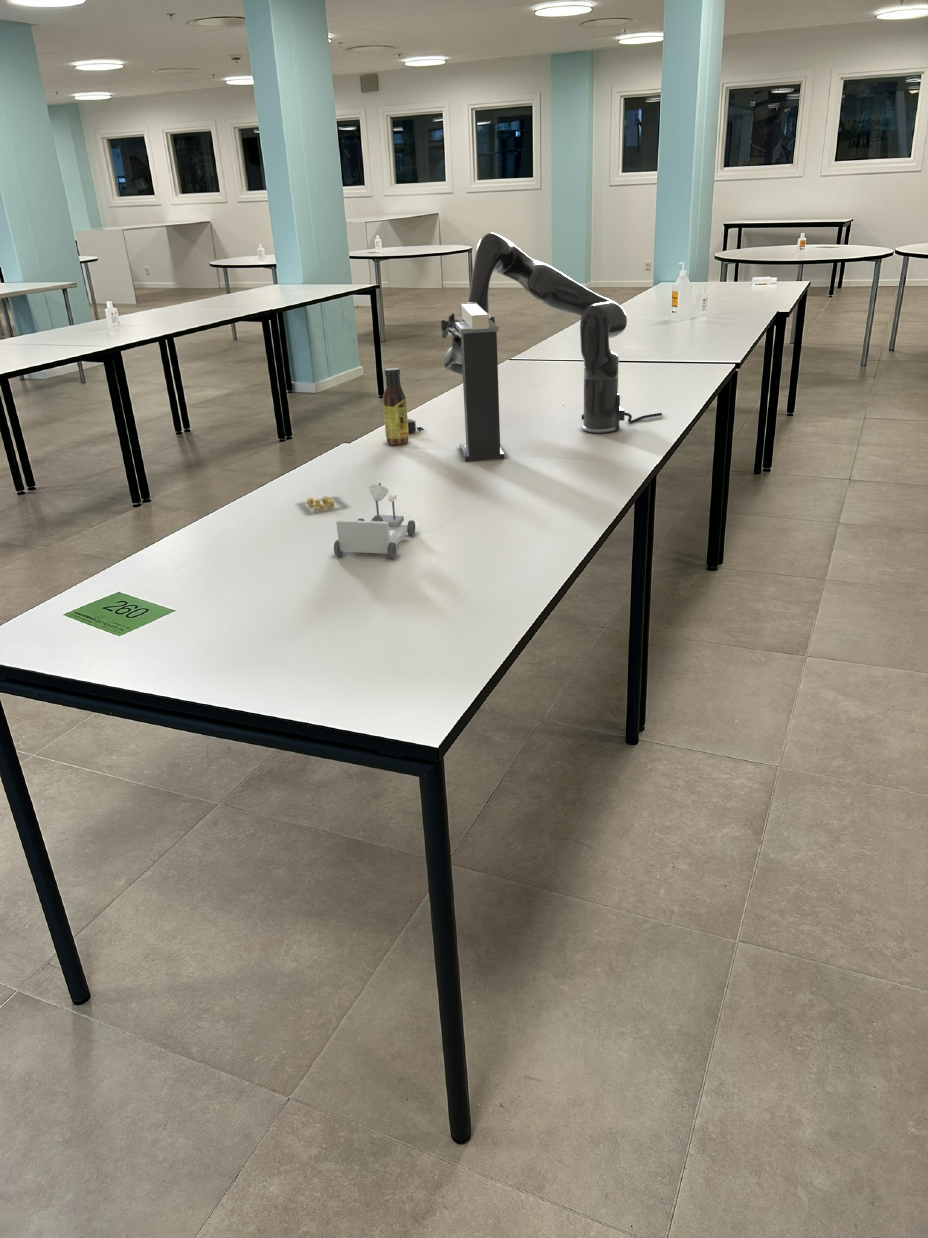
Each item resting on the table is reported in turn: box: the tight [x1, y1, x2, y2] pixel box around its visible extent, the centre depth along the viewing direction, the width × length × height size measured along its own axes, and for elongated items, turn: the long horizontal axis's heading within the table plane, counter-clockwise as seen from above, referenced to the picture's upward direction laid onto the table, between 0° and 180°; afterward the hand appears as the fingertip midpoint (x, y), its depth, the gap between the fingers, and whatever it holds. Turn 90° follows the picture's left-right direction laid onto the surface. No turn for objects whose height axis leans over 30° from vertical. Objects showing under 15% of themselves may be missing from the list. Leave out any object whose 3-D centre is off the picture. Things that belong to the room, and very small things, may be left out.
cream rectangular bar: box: [459, 302, 489, 330], centre depth 221 cm, size 4×24×3 cm, turn 6°
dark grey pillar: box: [456, 320, 506, 462], centre depth 225 cm, size 10×13×32 cm
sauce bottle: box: [382, 367, 410, 446], centre depth 242 cm, size 6×6×20 cm
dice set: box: [306, 495, 335, 511], centre depth 199 cm, size 5×5×2 cm
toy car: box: [333, 482, 416, 559], centre depth 175 cm, size 18×10×12 cm
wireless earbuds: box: [407, 418, 424, 434], centre depth 257 cm, size 5×7×3 cm, turn 39°
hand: (469, 315), depth 231 cm, fingers open, 8 cm apart
